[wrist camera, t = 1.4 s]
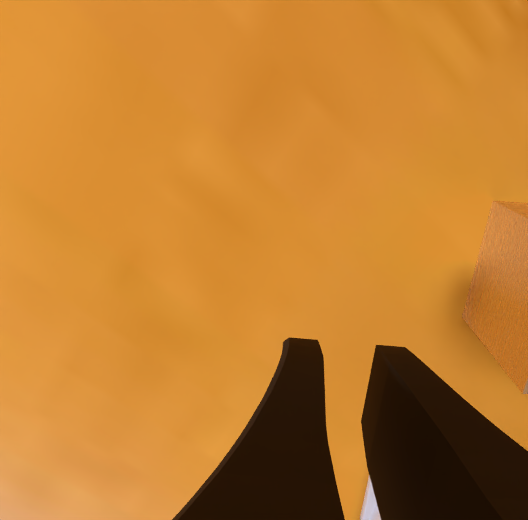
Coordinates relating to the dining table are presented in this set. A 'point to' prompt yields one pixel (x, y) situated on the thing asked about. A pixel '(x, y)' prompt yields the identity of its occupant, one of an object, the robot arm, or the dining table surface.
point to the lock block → (503, 290)
